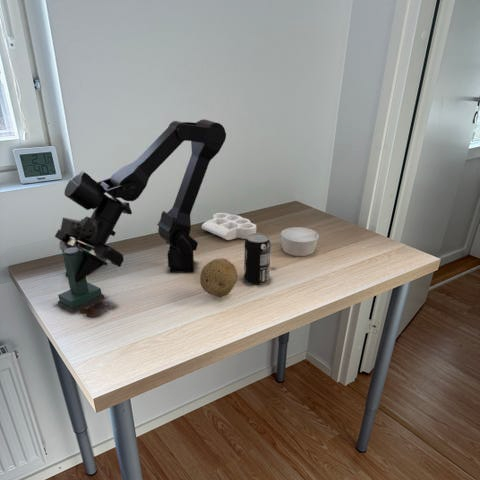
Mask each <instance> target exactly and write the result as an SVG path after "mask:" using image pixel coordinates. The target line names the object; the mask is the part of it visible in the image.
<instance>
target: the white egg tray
mask: <svg viewBox="0 0 480 480" xmlns="http://www.w3.org/2000/svg"><path fill="white" fill-rule="evenodd" d="M201 229H202V230H204V231H207V232H209V233H210V234H213V235H215V236H218V237H220V238H222V239H224V240H226V241H231V240H235V239H243V240H246V239H247V238H246V237H247V235H249V234H252V233H257V224H256V223H252V222H251V220H250V219H248V218H246V217H242V216H241V215H237V214H230V213H227V212H217V213H214V214H213V215H212V219H209V220H206V221H205V222H204V223H202V224H201Z"/></svg>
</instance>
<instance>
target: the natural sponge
mask: <svg viewBox="0 0 480 480" xmlns="http://www.w3.org/2000/svg"><path fill="white" fill-rule="evenodd" d="M199 275H200V277H199V283H200V287H201V288H202V290H203V291H205V292H206V293H207V294H210V295H212V296H215V297H217V298H224V297H226V296H227V295H229V294H230V293H231V292H232V290H233V289H234V287H235V286H236V284H237V281H238V271H237V268H236V266H235V265H234V264H233V263H232V261H230V260H229V259H227V258H222V257H221V258H215V259H213V260H210V261H209V262H207V263H206V264H205V265H203V267H202V270H201V271H200V274H199Z"/></svg>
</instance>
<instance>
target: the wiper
mask: <svg viewBox="0 0 480 480" xmlns="http://www.w3.org/2000/svg"><path fill="white" fill-rule="evenodd" d="M62 257H63V261H64V266H65V271H66V272H67V277H66V278H67V281H68V286H69V289H68V290H66V291H64V292H61V293H59V294H57V297H58V300H57V305H58V306H59V307H61V308H63V309H64V310H67V311H69V312H70V313H72V314H74V313H77V312H80V310H82V309H84V308H88V307H90V306H92V305H94V304H95V303H97V302H100V301H103V300H104V299H105V294H103V293H102V288H101V287H99V286H97V285H94V284H93V283H90V282H88V281H87V280H88V279H87V276H86V277H85V278H84V279H82V280H81V281H79V282H76V281H75V280H74V279H75V276H76V274H77V271H78V269H79V267H80V265H81V263H82V261H83V257H82V253H81V252H80V249H79V248H76V247H72V248H67V249H65V250H64V253H63V252H62ZM66 272H65V273H66Z"/></svg>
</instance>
